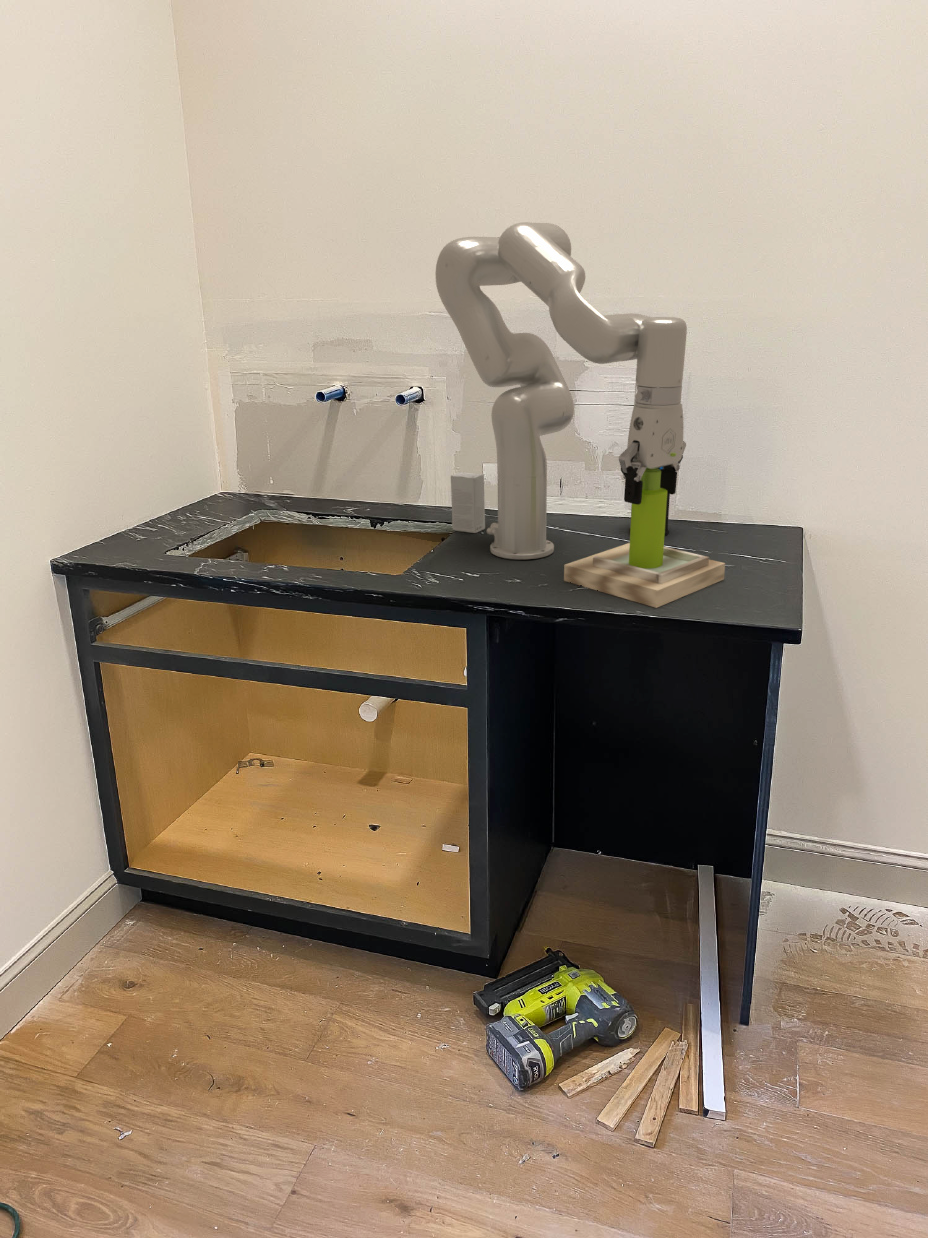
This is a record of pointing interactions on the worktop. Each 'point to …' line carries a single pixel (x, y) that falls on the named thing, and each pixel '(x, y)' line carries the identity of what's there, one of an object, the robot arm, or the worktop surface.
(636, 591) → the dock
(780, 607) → the worktop surface
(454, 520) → the skincare box
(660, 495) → the soap dispenser
